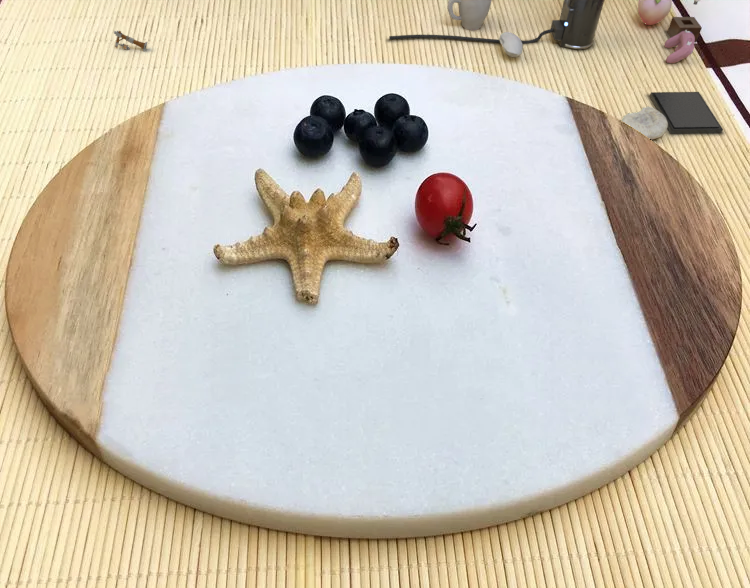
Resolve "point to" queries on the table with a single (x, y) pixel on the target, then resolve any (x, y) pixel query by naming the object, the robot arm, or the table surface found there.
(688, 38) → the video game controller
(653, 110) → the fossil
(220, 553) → the table surface
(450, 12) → the mug
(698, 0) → the stylus
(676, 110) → the tablet
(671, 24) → the pen block
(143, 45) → the wooden post with brackets
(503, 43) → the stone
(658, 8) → the decorative fruit
